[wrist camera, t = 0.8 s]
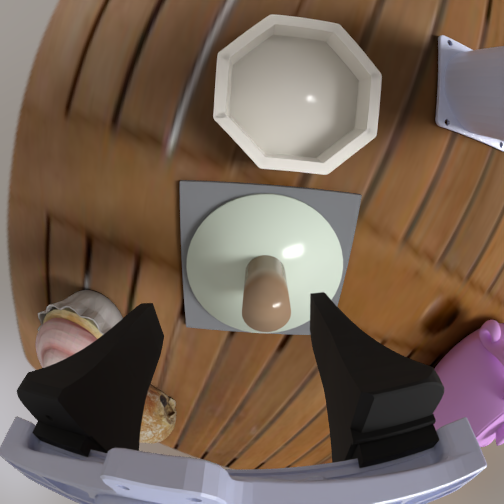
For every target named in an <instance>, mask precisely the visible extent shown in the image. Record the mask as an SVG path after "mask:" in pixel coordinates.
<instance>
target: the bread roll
mask: <svg viewBox="0 0 504 504" xmlns="http://www.w3.org/2000/svg"><path fill="white" fill-rule="evenodd" d="M175 406H176V402H175V401H174V400H173V399H171V398H170V397H168V396H167V395H166V394H164V393H163V392H162V391H160V390H159V389H157V388H155V387H153V386H152V385H151V384H150V386H149V389H148V393H147V396H146V400H145V405H144V411H143V416H142V423H141V430H140V441H139V442H142V443H151V444H153V443H157V442H160V441H163V440H164V439H165V438H167V437H168V436H169V435H170V433H171V432H172V431H173V429H174V427H175V421H176V409H175Z"/></svg>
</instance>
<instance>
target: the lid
mask: <svg viewBox="0 0 504 504" xmlns="http://www.w3.org/2000/svg"><path fill="white" fill-rule="evenodd" d="M186 268H187V276H188V280H189V284H190V287H191V289H192V291H193V293H194V295H195V297H196V298H197V300H198V301H199V303H200V304H201V305H202V306H203V308H204V309H205V310H206V311H207V312H208V313H209V314H211V315H212V316H213V317H215V318H216V319H217V320H219V321H221V322H222V323H224V324H226V325H228V326H231V327H233V328H236V329H239V330H242V331H247V332H253V333H275V332H281V331H286V330H289V329H292V328H295V327H298V326H300V325H302V324H304V323H306V322H308V321H309V320H310V293H320V292H324V293H326V294H327V296H328V297H329V298H330V299H331V300H332V298H333V297H334V295H335V293H336V291H337V289H338V287H339V284H340V281H341V278H342V271H343V256H342V249H341V246H340V243H339V240H338V238H337V236H336V234H335V232H334V230H333V229H332V227H331V226H330V224H329V223H328V221H327V220H326V219H325V218H324V217H323V216H322V215H321V214H320V213H319V212H318V211H317V210H315V209H314V208H313V207H311V206H310V205H308V204H306V203H305V202H303V201H300V200H298V199H296V198H293V197H290V196H286V195H282V194H275V193H257V194H249V195H245V196H241V197H238V198H235V199H233V200H230V201H228V202H226V203H225V204H223V205H221V206H219V207H218V208H217V209H215V210H214V211H213V212H211V213H210V214H209V215H208V216H207V217H206V218H205V219H204V220H203V222H202V223H201V225H200V226H199V227H198V229H197V231H196V232H195V234H194V236H193V238H192V240H191V243H190V246H189V249H188V254H187V266H186Z"/></svg>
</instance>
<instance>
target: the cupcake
mask: <svg viewBox="0 0 504 504" xmlns="http://www.w3.org/2000/svg"><path fill="white" fill-rule="evenodd" d="M38 318H39V320H40V322H41V326H40V327H39V328H38V331H39V332H38V334H37V337H36V352H37V356H38V359H39V361H40V364H41V366H42V368H45V367H48V366H50V365H53V364H55V363H57V362H60V361H62V360H64V359H66V358H68V357H70V356H71V355H73V354H75V353H77V352H79V351H81V350H82V349H84V348H85V347H87V346H88V345H90V344H91V343H93V342H94V341H96V340H97V339H98V338H100V337H101V336H102V335H103V334H105V333H106V332H107V331H109V330H110V329H111V328H112V327H114V326H115V325H116V324H117V323H118V322H119V321H121V320H122V319H123V318H122V315H121V313H120V312H119V310H118V308H117V307H116V306H115V304H114V303H113V302H111V301H110V300H109V299H108V298H107V297H105V296H104V295H102V294H100V293H98V292H95V291H91V290H82V291H78V292H76V293H74V294H72V295H71V296H69V297H68V298H66V299H65V300H63V301H60V302H57V303H53V304H50V305H48V306H47V307H46V310H45V311H42V312H40V313H38Z"/></svg>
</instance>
